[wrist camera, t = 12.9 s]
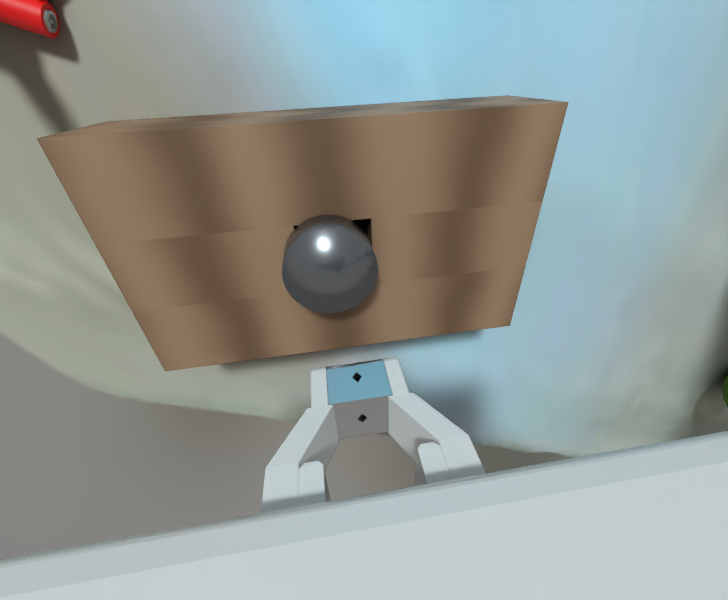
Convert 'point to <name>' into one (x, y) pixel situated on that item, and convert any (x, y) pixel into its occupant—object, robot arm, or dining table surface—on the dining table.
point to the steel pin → (329, 264)
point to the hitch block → (306, 200)
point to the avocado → (725, 390)
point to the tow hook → (30, 16)
